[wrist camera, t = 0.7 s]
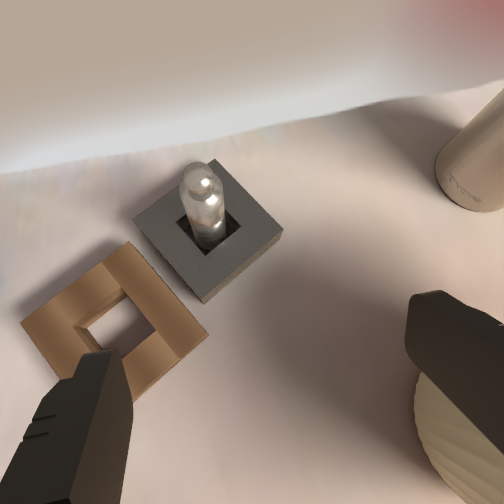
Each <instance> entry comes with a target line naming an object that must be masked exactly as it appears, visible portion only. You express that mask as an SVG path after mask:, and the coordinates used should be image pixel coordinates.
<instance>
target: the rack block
mask: <svg viewBox="0 0 504 504" xmlns="http://www.w3.org/2000/svg"><path fill="white" fill-rule="evenodd" d="M126 296H129V297H130V299H131V300H132V301H133V302H134V304H135V305H136V306H137V307H138V308H139V310H140V311H141V312H142V313H143V315H144V316H145V317H146V318H147V320H148V321H149V322H150V323H151V325H152V326H153V327H154V328H155V330H156V331H155V332H154V333H152V334H151V335H150V336H149V337H148V338H146V339H145V340H144V341H143V342H142V343H141V344H139V345H138V346H137V347H136V348H135V349H134V350H132V351H131V352H130V353H129V354H128V355H126V356H125V357H124V358H123V359H122V363H123V366H124V370H125V373H126V377H127V380H128V384H129V388H130V391H131V395H132V401H133V402H134V401H136V400H137V399H138V398H139V397H140V396H141V395H142V394H143V393H145V392H146V391H147V390H148V389H149V388H150V387H151V386H152V385H154V384H155V383H156V382H157V381H158V380H159V379H160V378H161V377H162V376H164V375H165V374H166V373H167V372H168V371H169V370H170V369H171V368H173V367H174V366H175V365H176V364H177V363H178V362H179V361H180V360H182V359H183V358H184V357H185V356H186V355H187V354H188V353H189V352H191V351H192V350H193V349H194V348H195V347H196V346H197V345H198V344H199V343H201V342H202V341H203V340H204V339H205V338H206V337H207V336H208V335H209V334H208V333H207V332H206V331H205V330H204V328H203V327H202V326H201V325H200V324H199V322H198V321H197V320H196V319H195V318H194V317H193V315H192V314H191V313H190V312H189V311H188V309H187V308H186V307H185V306H184V305H183V303H182V302H181V301H180V300H179V299H178V298H177V296H176V295H175V294H174V293H173V292H172V290H171V289H170V288H169V287H168V286H167V284H166V283H165V282H164V281H163V280H162V279H161V277H160V276H159V275H158V274H157V273H156V271H155V270H154V269H153V268H152V267H151V265H150V264H149V263H148V262H147V261H146V260H145V258H144V257H143V256H142V255H141V254H140V252H139V251H138V250H137V249H136V248H135V247H134V246H133V245H132V244H131V243H130V242H129V241H128V242H127V243H125V244H124V245H123V246H121V247H120V248H119V249H117V250H116V251H115V252H113V253H112V254H111V255H109V256H108V257H107V258H105V259H104V260H103V261H101V262H100V263H99V264H97V265H96V266H95V267H93V268H92V269H91V270H89V271H88V272H87V273H85V274H84V275H83V276H81V277H80V278H79V279H77V280H76V281H75V282H73V283H72V284H71V285H69V286H68V287H67V288H65V289H64V290H63V291H61V292H60V293H59V294H57V295H56V296H55V297H53V298H52V299H51V300H49V301H48V302H47V303H46V304H44V305H43V306H42V307H40V308H39V309H38V310H36V311H35V312H34V313H32V314H31V315H30V316H28V317H27V318H26V319H24V320H23V321H22V322H20V324H21V325H22V327H23V328H24V329H25V331H26V332H27V334H28V335H29V336H30V338H31V339H32V341H33V342H34V343H35V345H36V346H37V348H38V349H39V351H40V352H41V353H42V355H43V356H44V358H45V359H46V360H47V362H48V363H49V365H50V366H51V367H52V369H53V370H54V372H55V373H56V374H57V376H58V377H59V379H60V380H62V379H67V378H72V377H73V375H74V372H75V370H76V368H77V365H78V363H79V361H80V358H81V356H82V355H83V354H85V353H90V352H96V351H101V350H103V349H102V348H101V347H100V345H99V344H98V343H97V341H96V340H95V339H94V337H93V336H92V335H91V333H90V332H89V331H88V329H87V328H88V327H89V326H90V325H91V324H93V323H94V322H95V321H96V320H98V319H99V318H100V317H101V316H103V315H104V314H105V313H106V312H108V311H109V310H110V309H111V308H113V307H114V306H115V305H116V304H118V303H119V302H120V301H121V300H123V299H124V298H125V297H126Z"/></svg>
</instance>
